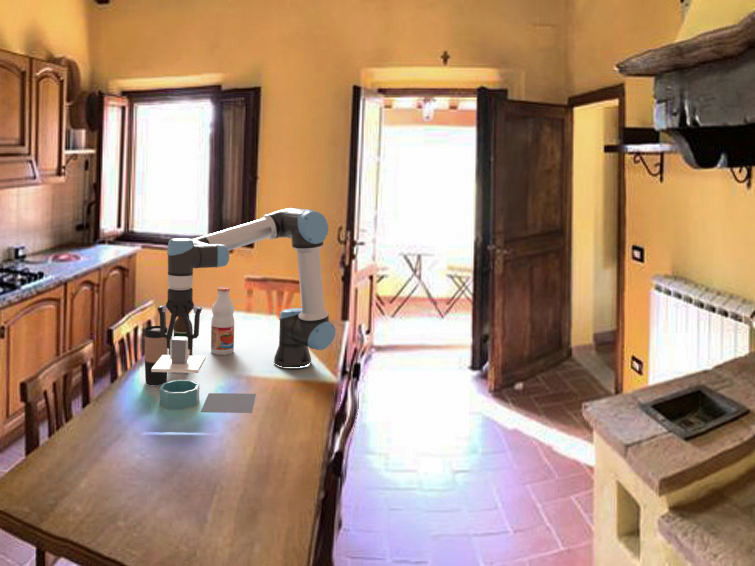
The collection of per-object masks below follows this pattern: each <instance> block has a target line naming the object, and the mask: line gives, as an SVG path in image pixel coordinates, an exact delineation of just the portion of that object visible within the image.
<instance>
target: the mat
mask: <svg viewBox="0 0 755 566" xmlns="http://www.w3.org/2000/svg"><path fill="white" fill-rule="evenodd" d="M256 396H257V393H236V392H235V393H229V392H227V393H226V392H221V393H220V392H209V393H208V394H207V396H206V399H205V401H204V404H203V405H202V408H201V410H200V413H223V414H224V413H226V414H227V413H229V414H230V413H232V414H233V413H239V414H240V413H242V414H243V413H245V414H252V413H253V410H254V405H255V400H256V398H257V397H256Z"/></svg>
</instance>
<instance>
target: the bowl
mask: <svg viewBox="0 0 755 566" xmlns="http://www.w3.org/2000/svg"><path fill="white" fill-rule="evenodd" d="M199 401H200V383H198V382H196V381H193V380H192V379H174V380H171V381H167V382H166V383H163V384H162V385H160V387H159V406H161V407H163V408H165V409H167V410H185V409H188V408H191V407H192V408H193V407H195V406H197V405H198V403H199Z"/></svg>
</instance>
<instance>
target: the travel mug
mask: <svg viewBox="0 0 755 566" xmlns="http://www.w3.org/2000/svg"><path fill="white" fill-rule="evenodd" d="M166 333H168V327H167V326H166ZM168 351H169V350H168V349H167V339H166V338H164V337H161V334H160V325H151V326H147V327H145V329H144V371H145V373H144V374H145V375H144V378H145V384H146V385H147V386H154V387H157V386H162V384H163V383H166V382H168V372H151V369H152V367H153V366H154V365H155V364H156V362H157V361H158V360H159V359H160V357H161V356H162V355H169V354H168V353H169V352H168Z"/></svg>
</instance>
